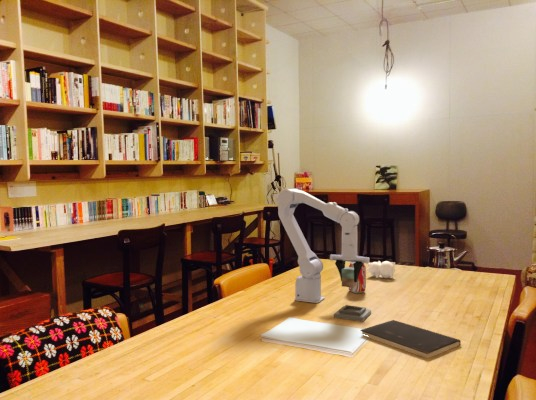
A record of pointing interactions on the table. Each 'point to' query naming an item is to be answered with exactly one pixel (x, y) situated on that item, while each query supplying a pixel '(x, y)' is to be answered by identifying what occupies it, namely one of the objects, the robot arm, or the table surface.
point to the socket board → (352, 313)
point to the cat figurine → (382, 269)
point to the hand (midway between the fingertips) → (349, 281)
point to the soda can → (359, 280)
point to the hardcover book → (411, 338)
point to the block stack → (348, 277)
